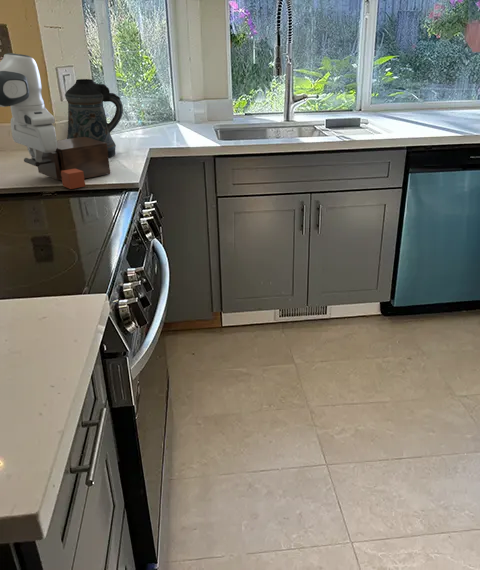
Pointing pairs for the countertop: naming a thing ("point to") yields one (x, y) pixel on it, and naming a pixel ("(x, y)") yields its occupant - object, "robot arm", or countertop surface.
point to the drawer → (49, 164)
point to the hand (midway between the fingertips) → (37, 162)
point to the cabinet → (84, 156)
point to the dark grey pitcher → (92, 112)
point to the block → (73, 178)
